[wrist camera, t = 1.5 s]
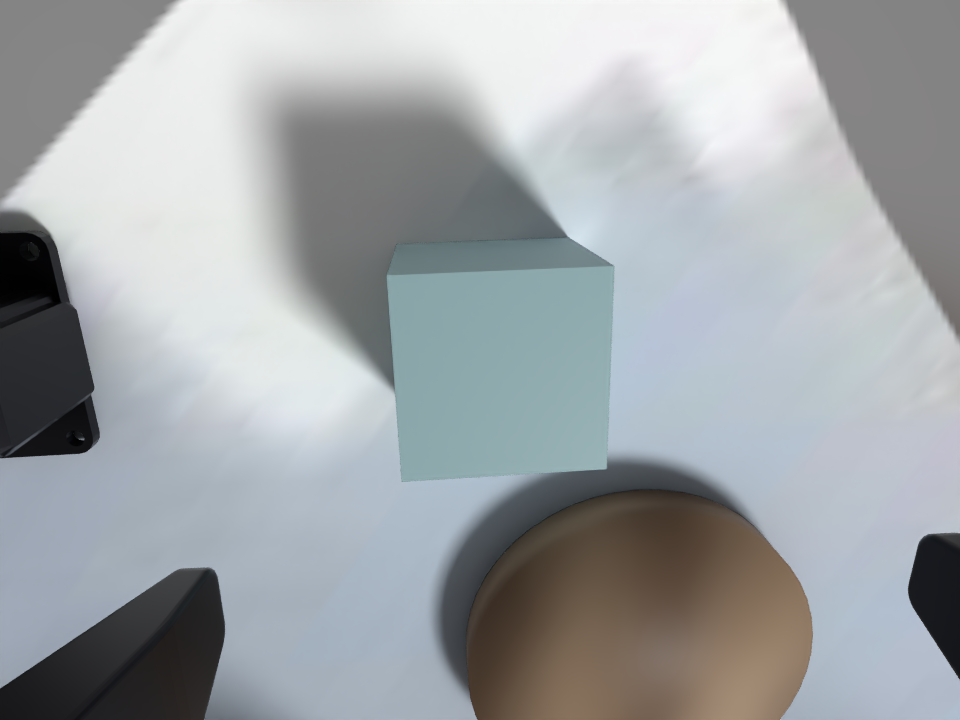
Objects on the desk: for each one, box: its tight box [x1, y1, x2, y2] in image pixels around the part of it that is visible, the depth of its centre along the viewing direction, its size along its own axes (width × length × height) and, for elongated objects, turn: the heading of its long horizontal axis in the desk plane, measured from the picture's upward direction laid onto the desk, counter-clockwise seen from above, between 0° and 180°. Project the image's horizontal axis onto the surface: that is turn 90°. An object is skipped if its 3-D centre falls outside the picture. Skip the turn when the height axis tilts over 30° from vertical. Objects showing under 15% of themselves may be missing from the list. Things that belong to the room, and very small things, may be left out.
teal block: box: [387, 237, 614, 482], centre depth 17 cm, size 5×5×5 cm
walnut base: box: [466, 490, 813, 720], centre depth 23 cm, size 12×12×2 cm
